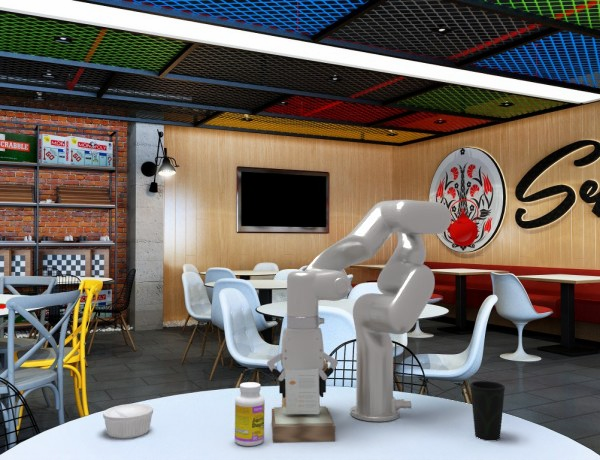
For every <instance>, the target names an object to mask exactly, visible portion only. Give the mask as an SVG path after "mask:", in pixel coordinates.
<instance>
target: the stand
mask: <svg viewBox="0 0 600 460" xmlns="http://www.w3.org/2000/svg"><path fill="white" fill-rule="evenodd" d="M271 430H272V431H271V434H272V443H306V442H307V443H308V442H309V443H314V442H315V443H317V442H335V441H336V425H335V422H334V420H333V418H332V416H331V412H330V410H329V408H328V407H327V406H326V405H325V406H323V405H322V406H321V405H320V410H319V414H286V407H283V406H275V407H273V408H271Z"/></svg>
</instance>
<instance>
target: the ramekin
mask: <svg viewBox="0 0 600 460" xmlns="http://www.w3.org/2000/svg"><path fill="white" fill-rule="evenodd" d="M153 414H154V408H153V406H151V405H148V404H145V403H126V404H120V405H115V406H112V407H110V408H107V409H106V410H104V412H103V413H102V415H103V419H104V424H105V429H106V433H107V434H108V436H109V437H111V438H113V437H114V439H120V438H121V439H123V440H125V439H133V438H137V437H140V436H143V435H145V434H146V433H147V432H148V431H149V430H150V427H151V422H152V416H153Z"/></svg>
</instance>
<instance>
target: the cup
mask: <svg viewBox="0 0 600 460" xmlns="http://www.w3.org/2000/svg"><path fill="white" fill-rule="evenodd" d="M469 386H470V394H471V395H470V396H471V407H472V416H473V426H474V436H475V438H477V437H478V438H477V439H479V438H480V439H479V440H481V439H485V440H484V441H486V440H496V441H498V440H497V439H499V438H500V439H501V432H502V421H503V411H504V410H503V409H504V401H505V399H504V398H505V390H506V386H505V385H504V384H502V383H500V382H495V381H490V380H489V381H487V380H478V381H473V382H470V385H469ZM500 439H499V440H500Z"/></svg>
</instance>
